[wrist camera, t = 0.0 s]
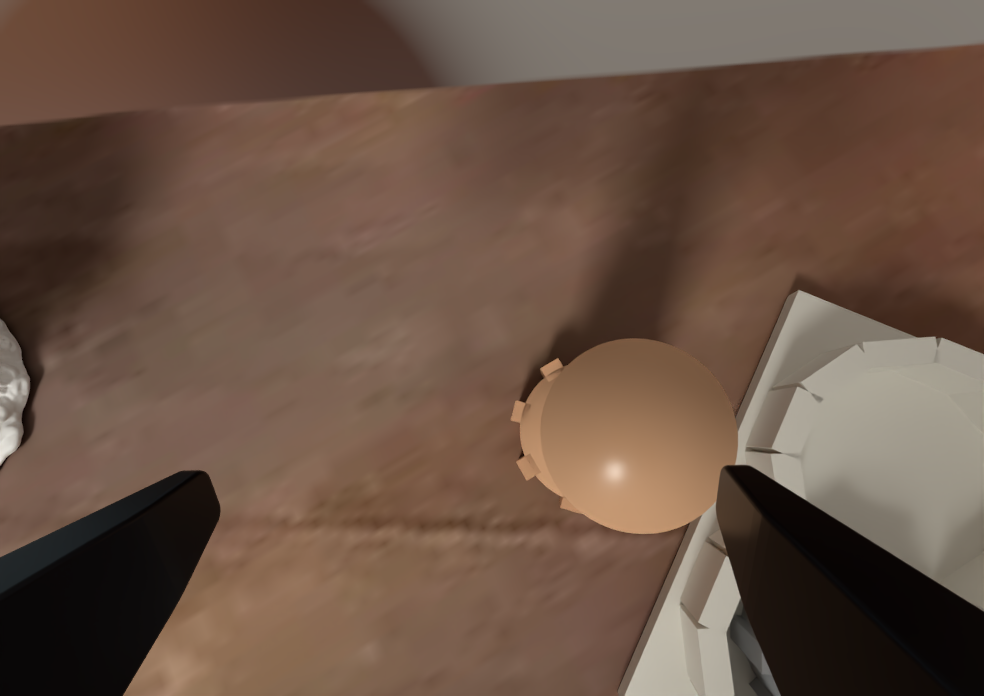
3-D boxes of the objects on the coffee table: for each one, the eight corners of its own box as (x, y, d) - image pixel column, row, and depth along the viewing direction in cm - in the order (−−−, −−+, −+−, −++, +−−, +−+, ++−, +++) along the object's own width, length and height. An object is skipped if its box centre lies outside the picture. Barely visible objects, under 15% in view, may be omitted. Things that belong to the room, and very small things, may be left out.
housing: (896, 851, 19) (1033, 1017, 14) (617, 691, 21) (641, 781, 16) (1057, 405, 21) (1234, 397, 16) (788, 295, 23) (862, 254, 18)
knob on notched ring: (691, 459, 22) (886, 500, 10) (561, 534, 22) (581, 674, 10) (610, 332, 24) (686, 219, 11) (487, 404, 24) (419, 374, 11)
